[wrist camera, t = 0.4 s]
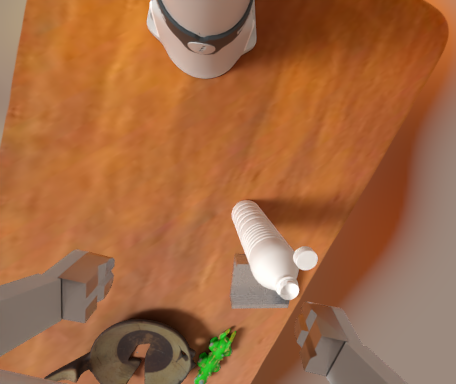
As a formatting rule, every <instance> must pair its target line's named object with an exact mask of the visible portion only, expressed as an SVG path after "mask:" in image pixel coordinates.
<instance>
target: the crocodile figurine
mask: <svg viewBox="0 0 456 384" xmlns="http://www.w3.org/2000/svg"><path fill="white" fill-rule="evenodd" d="M229 332H230V329H228V330H226V331H225V332H224V333H222V334H221V335H219V338H217V337H214V338H212V339H211V340H210V345H209V349H210V350H211V352H212V353H209V355H207V354H206V352H204V353H202V354H200V355H199V360H198V362H197V364H198V366H199V367H201V370H199V372H198V374H197V376H196V378H195V381H194V383H195V384H205V383H207V379H208V377H209V375H210V376H211V373H212V372H218V371H219V370H220V368H221V366H220V363H219V362H220V360H223V357H224V356H230V355H231V354H232V349H231V343H232V342H233V339H234V337H235V335H236V331H234V332H233V333H232V335H231V336H230V337H229V338H228V337H226V335H228V333H229Z"/></svg>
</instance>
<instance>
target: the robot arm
mask: <svg viewBox="0 0 456 384" xmlns="http://www.w3.org/2000/svg"><path fill="white" fill-rule="evenodd" d="M147 26H148V29H149V31H150V32H151V33H152V34H153V35H154V36H155V37H156V38H157V39H158V40H159V41H160V42H161V43H162V44H163V46H164V47H165V49H166V51H167V53H168V55H169V57H170V58H171V60H172V61H173V62H174V63H175V64H176V65H177V66H178V67H179V68H180V69H181V70H182V71H184V72H185V73H187V74H189V75H191V76H194V77H197V78H214V77H218V76H220V75H222V74H224V73H225V72H227V71H228V70H229V69H230V68H231V67H232V66H233V65H234V64H235V63H236V61H237V60H238V59H239V57H240V56H241V55H243V54H245V53H246V52H248V51H250V50H251V49H253V48H254V46H255V44H256V19H255V0H151V1H150V7H149V12H148V18H147ZM113 267H114V259H113V258H111V257H107V256H103V255H99V254H96V253H92V252H87V251H83V250H79V249H77V250H73V251H72V252H71V253H69V254H68V255H67V256H66V257H64V258H63V259H62V260H60V261H59V262H58V263H56V264H55V265H54V266H52V267H51V268H50V269H49V270H47V271H46V272H45V273H43V274H42V275H41V274H35V275H32V276H29V277H26V278H23V279H20V280H17V281H13V282H10V283H7V284H4V285H1V286H0V356H2V355H4V354H5V353H7V352H9V351H10V350H12V349H14V348H15V347H17V346H19V345H20V344H22V343H24V342H25V341H27V340H29V339H31V338H32V337H34V336H36V335H37V334H39V333H41V332H42V331H44V330H46V329H47V328H49V327H51V326H52V325H54V324H56V323H58V322H59V321H61V319H65V320H70V321H76V322H81V323H86V321H87V320H88V319H89V317H90V316H91V315H92V314H93V312H94V311H95V310H96V308H97V302H99V301H101V300H103V299H104V298H105V297H106V295H107V294H108V292H109V290H110V288H111V286H112V283H113V277H114V275H113V273H112V272H111V270H112V268H113ZM301 309H302V312H303V313H302V314H300V315H299V316H298V317H297V319H296V322H295V337H296V341H297V343H298V344H299V345H300V346H301V347H302V348H301V351H300V356H301V360H302V364H303V368H304V371H306V372H310V373H314V374H319V375H323V376H326V378H327V380H328V381H329V382H330V384H408V383H407V382H405V381H404V380H403V379H402V378H401V377H400V376H399V375H398V374H397V373H396V372H394V371H393V370H392V369H391V368H390V367H389V366H388V365H386V364H385V363H384V362H383V361H382V360H381V359H380V358H379V357H378V356H377V355H375V353H374V352H372V351H371V350H370V349H369V348H368V347H366V346H363V344H362V343H361V341H360V339H359V337H358V335H357V334H356V332H355V330H354V328H353V327H352V325H351V323H350V321H349V319H348V318H347V316H346V314H345V312H344V311H343V310H342V309H341V308H336V307H331V306H325V305H321V304H316V303H312V302H307V301H306V302H304V303H303V305H302V307H301ZM0 384H66V383H62V382H57V381H52V380H48V379H43V378H38V377H33V376H29V375H24V374H19V373H14V372H10V371H5V370H0Z"/></svg>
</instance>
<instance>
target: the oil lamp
mask: <svg viewBox="0 0 456 384" xmlns="http://www.w3.org/2000/svg"><path fill="white" fill-rule="evenodd" d="M147 343H150V344H151V345H150V348H149V349H148V351H147V353H146V357H145V384H181V383H182V382H183V380H184V379H185V378H186V377H187V375H188V374H189V372H190V371H191V370H192V369H193V368H194V367H195V365H196V363H195V362H194V360H193V357H194V356H195V354H196V352H195V351H194V350H193V349H191V348H190V347H189V345H188V343H187V341H186V340H185V338H184V337H183V336H182V335H181V334H180V333H179V332H178V331H176V330H175V329H174V328H172V327H170V326H168V325H166V324H163V323H161V322H157V321H153V320H144V319H130V320H126V321H122V322H119V323H116V324H114V325H112V326H111V327H109V328H108V329H106V330H105V331H104V332H102V333H101V334H100V335H99V336H98V338H97V339H96V340H95V342H94V344H93V346H92V348H91V352H89V353H87V354H85V355H84V356H82V357H80V358H78V359H76V360H74V361H72V362H71V363H69V364H67V365H65V366H63V367H61V368H60V369H58V370H56V371H54V372H52V373H51V374H49V375H48V376H46V377H45V378H44V379H48V380H52V381H59V380H70V381H72V382H77V381H78V379H79V377H80V375H81V374H82V373H83V372H85V371H86V370H90V371H91V372H92V373H93V374H94V376H95V377H96V379H97V380H98V382H99V383H100V384H127V382H128V381H129V379H130V378H131V377H132V375H133V373H134V372H135V371H136V369H137V368H138V366H139V365H140V363H141V361H142V360H141V359H137V358H131V359H129V357H130V355H131V354H132V352H133V351H134V350H135V348H136V346H137V345H139V344H147ZM182 351H183V352H185V353H186V355H183V353H182ZM137 353H138V352H137Z"/></svg>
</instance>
